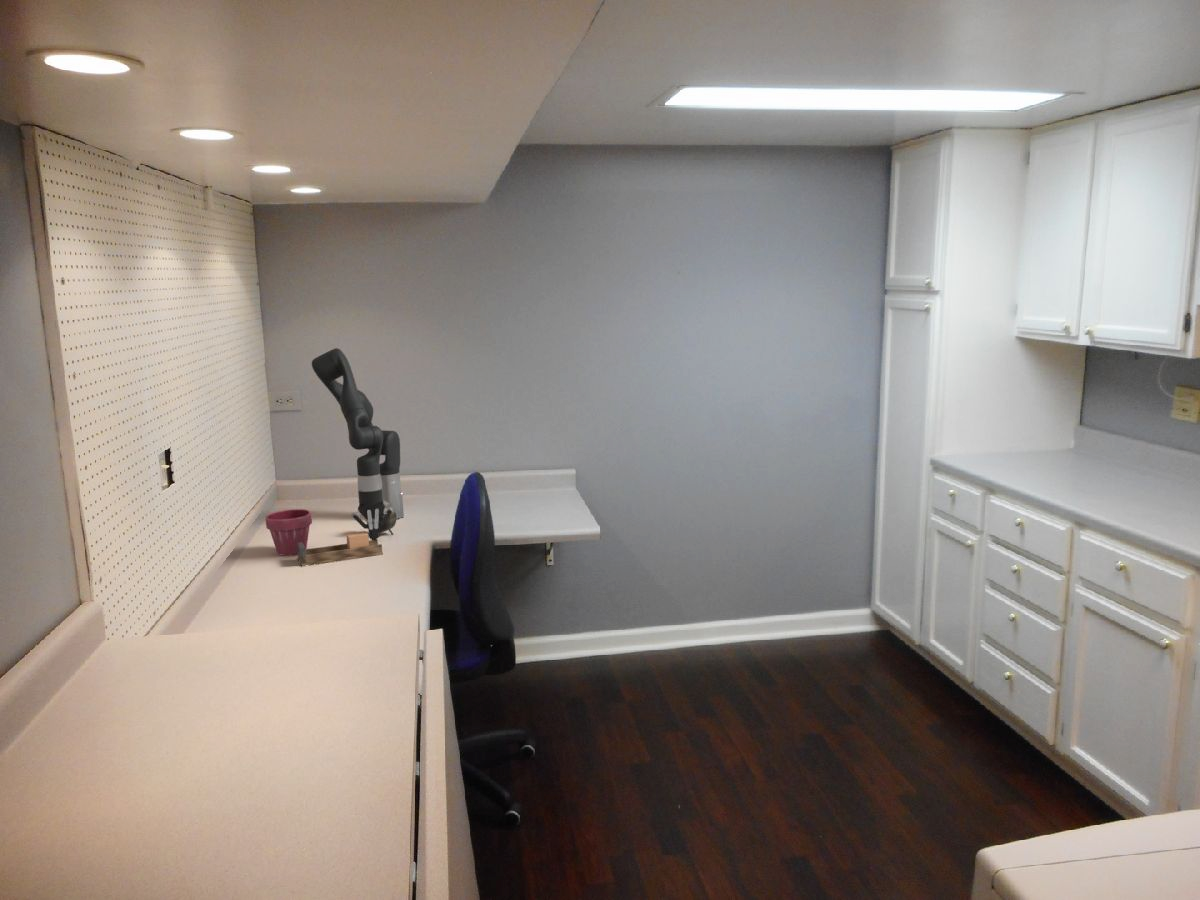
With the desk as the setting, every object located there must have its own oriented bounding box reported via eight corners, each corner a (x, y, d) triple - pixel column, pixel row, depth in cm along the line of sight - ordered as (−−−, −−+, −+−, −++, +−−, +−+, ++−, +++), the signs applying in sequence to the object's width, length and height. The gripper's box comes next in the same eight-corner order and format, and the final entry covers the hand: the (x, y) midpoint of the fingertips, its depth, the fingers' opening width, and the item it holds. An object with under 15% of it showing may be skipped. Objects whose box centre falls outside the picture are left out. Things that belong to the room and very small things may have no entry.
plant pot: (259, 555, 278) (255, 517, 276) (289, 544, 291) (286, 507, 289) (294, 559, 273) (290, 520, 271) (323, 547, 286) (320, 510, 284)
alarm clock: (398, 534, 301) (395, 488, 298) (388, 538, 296) (385, 492, 293) (373, 531, 305) (370, 486, 302) (363, 535, 300) (360, 489, 297)
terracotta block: (366, 548, 281) (365, 530, 280) (369, 552, 277) (368, 534, 276) (347, 551, 279) (346, 533, 278) (350, 555, 274) (349, 537, 273)
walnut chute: (377, 547, 285) (376, 531, 284) (383, 554, 277) (381, 538, 276) (298, 558, 274) (296, 542, 273) (302, 566, 266) (300, 549, 265)
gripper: (388, 483, 282) (391, 534, 285) (346, 488, 277) (351, 540, 280) (393, 487, 276) (396, 539, 279) (351, 492, 270) (355, 545, 273)
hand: (373, 539), depth 279 cm, fingers closed
